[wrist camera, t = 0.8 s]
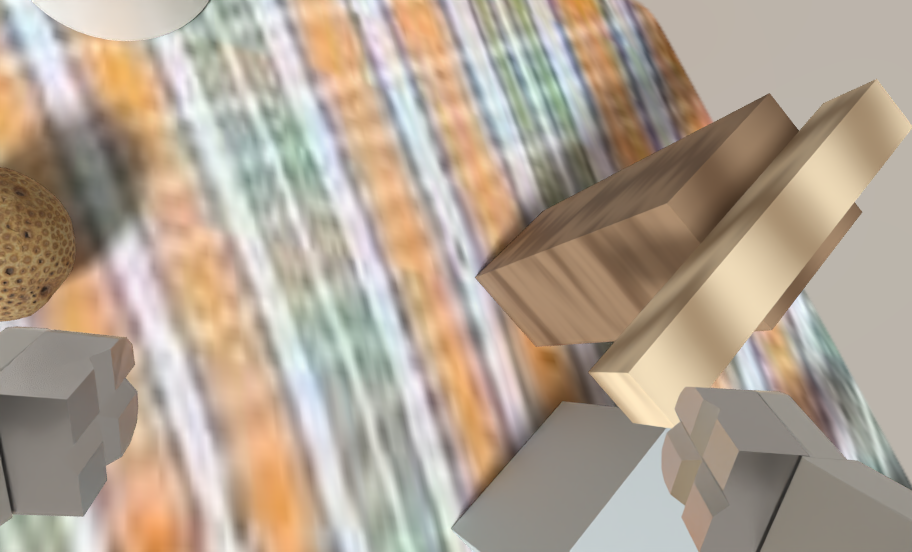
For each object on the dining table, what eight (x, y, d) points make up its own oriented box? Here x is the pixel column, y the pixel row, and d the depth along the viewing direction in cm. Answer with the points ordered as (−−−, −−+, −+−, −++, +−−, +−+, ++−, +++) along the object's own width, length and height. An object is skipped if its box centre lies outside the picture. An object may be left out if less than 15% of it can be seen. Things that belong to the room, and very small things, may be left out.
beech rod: (632, 422, 27) (677, 429, 25) (588, 372, 27) (628, 372, 24) (857, 146, 34) (912, 127, 31) (823, 103, 33) (876, 78, 31)
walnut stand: (536, 346, 55) (771, 330, 30) (474, 277, 54) (667, 203, 30) (600, 277, 58) (862, 212, 33) (543, 211, 57) (769, 93, 32)
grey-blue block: (532, 615, 52) (646, 712, 37) (450, 528, 50) (535, 594, 36) (635, 483, 56) (773, 523, 42) (562, 401, 55) (677, 413, 40)
